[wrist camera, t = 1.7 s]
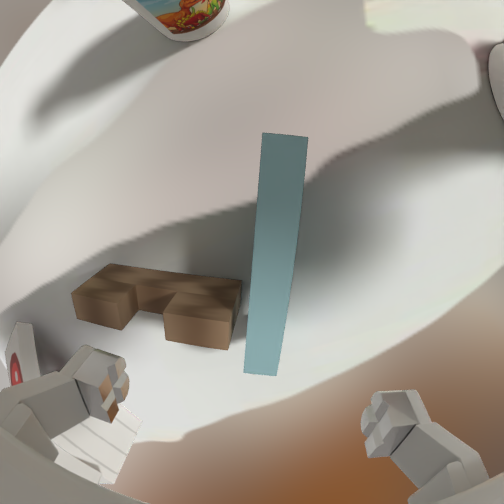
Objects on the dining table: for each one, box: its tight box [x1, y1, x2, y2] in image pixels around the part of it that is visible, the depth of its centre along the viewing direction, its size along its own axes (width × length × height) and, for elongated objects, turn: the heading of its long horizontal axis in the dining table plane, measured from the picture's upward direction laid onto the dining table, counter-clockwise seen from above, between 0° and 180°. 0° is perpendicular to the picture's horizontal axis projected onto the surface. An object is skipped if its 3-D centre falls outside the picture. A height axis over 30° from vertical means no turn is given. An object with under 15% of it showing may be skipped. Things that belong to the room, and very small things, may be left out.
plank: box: [244, 133, 308, 376], centre depth 25 cm, size 3×20×8 cm, turn 176°
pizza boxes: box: [5, 322, 143, 485], centre depth 33 cm, size 19×30×18 cm, turn 41°
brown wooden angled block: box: [71, 264, 242, 350], centre depth 27 cm, size 16×3×8 cm, turn 86°
